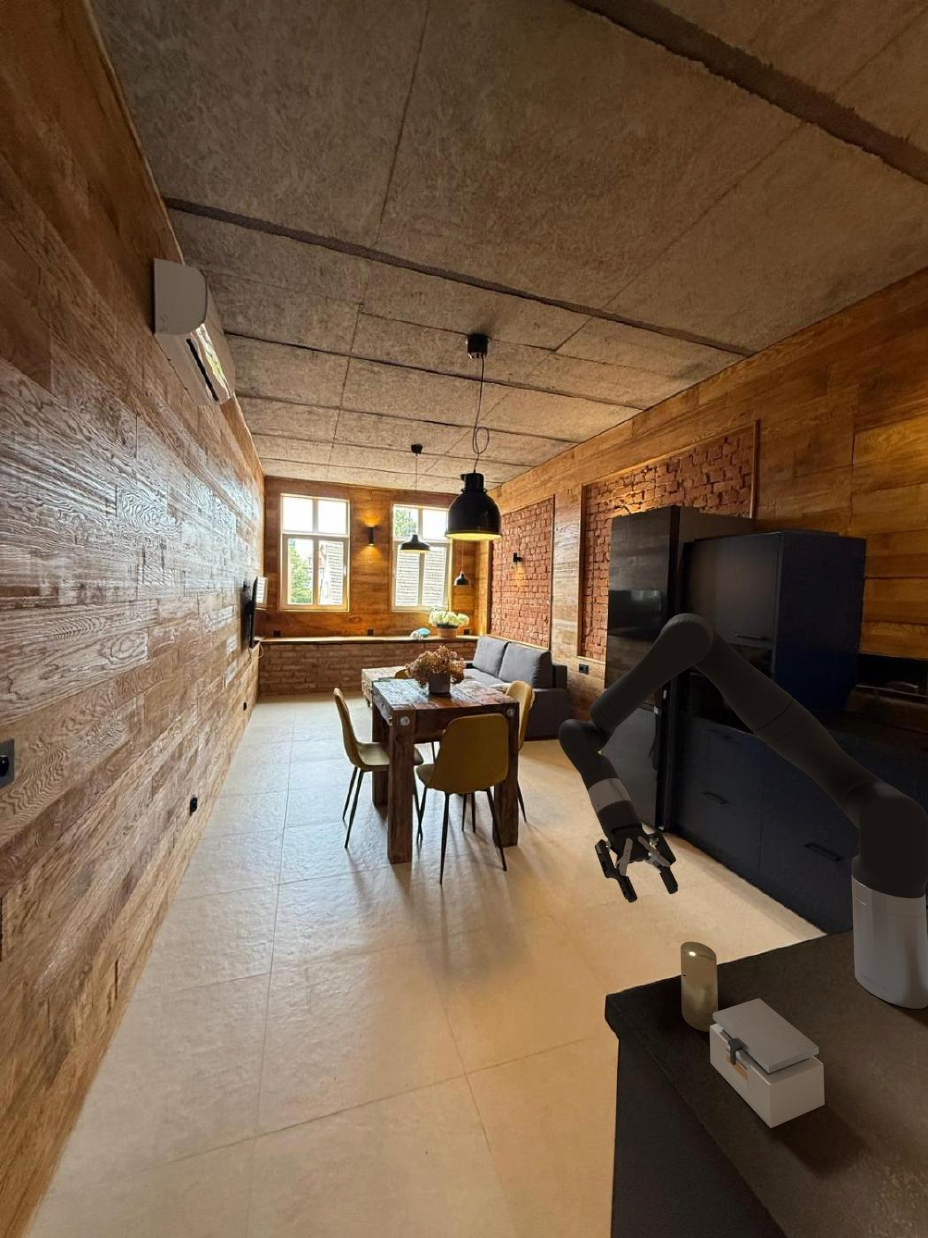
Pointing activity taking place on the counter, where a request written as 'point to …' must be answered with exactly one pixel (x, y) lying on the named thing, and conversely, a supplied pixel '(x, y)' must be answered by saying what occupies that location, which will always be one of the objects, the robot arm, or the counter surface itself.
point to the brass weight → (699, 985)
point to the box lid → (764, 1035)
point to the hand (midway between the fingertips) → (654, 897)
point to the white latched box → (769, 1081)
